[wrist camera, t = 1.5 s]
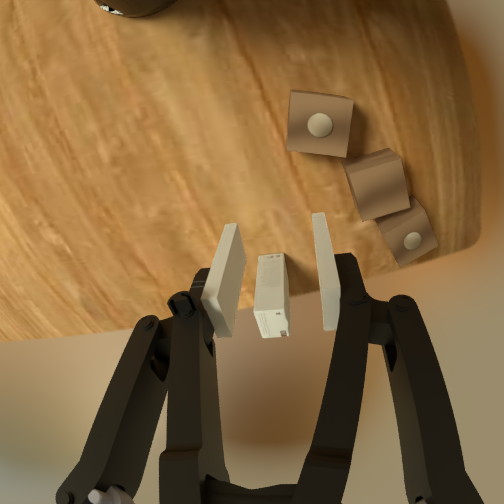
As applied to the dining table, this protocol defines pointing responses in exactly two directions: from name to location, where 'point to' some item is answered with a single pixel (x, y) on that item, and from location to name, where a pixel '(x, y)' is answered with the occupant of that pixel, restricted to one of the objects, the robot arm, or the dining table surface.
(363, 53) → the dining table surface
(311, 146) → the dotted walnut block
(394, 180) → the plain walnut block
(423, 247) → the dotted walnut block
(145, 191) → the dining table surface
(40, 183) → the dining table surface
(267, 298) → the skincare box
